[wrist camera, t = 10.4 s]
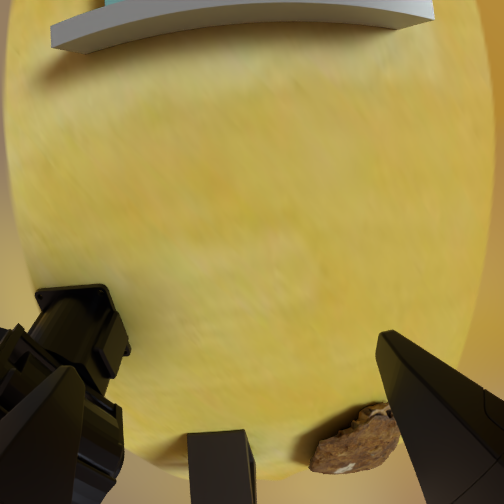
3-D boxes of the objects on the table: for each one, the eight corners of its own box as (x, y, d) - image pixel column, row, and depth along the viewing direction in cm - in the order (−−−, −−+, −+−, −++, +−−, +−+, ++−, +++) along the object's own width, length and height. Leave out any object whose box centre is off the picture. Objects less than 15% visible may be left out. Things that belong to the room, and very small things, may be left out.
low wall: (85, 54, 14) (51, 47, 10) (84, 36, 13) (50, 26, 10) (398, 29, 14) (434, 19, 11) (396, 12, 14) (431, -1, 10)
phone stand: (255, 463, 33) (262, 549, 23) (207, 466, 33) (206, 551, 23) (245, 428, 29) (251, 536, 19) (187, 432, 29) (181, 536, 19)
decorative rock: (311, 402, 29) (304, 460, 36) (316, 437, 25) (307, 486, 33) (417, 384, 28) (386, 447, 36) (430, 415, 25) (392, 471, 32)
